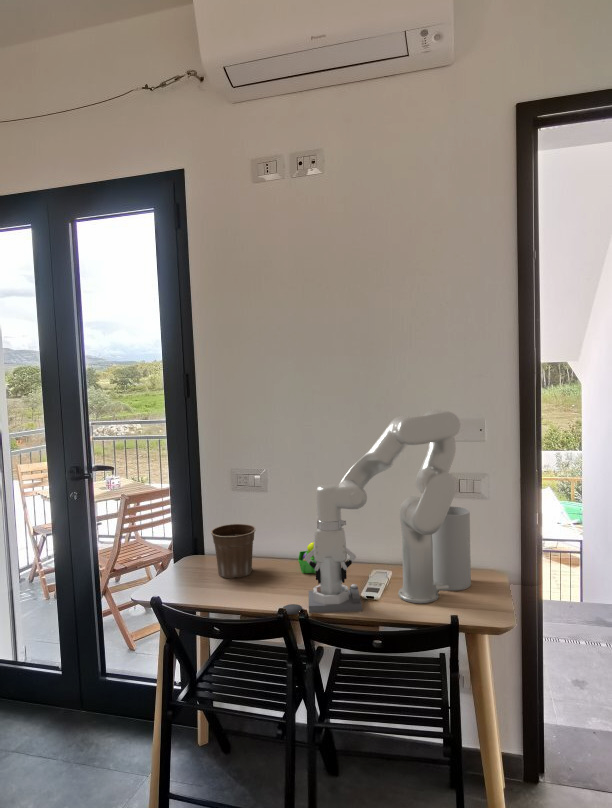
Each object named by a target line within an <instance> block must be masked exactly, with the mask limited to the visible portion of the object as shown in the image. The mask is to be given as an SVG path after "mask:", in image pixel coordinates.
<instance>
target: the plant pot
mask: <svg viewBox="0 0 612 808" xmlns="http://www.w3.org/2000/svg"><path fill="white" fill-rule="evenodd" d="M255 532H256V527H255V525H250V524H248V523H247V524H245V523H233V524H232V523H230V524H223V525H220V526H217V527H214V528H212V530H211V531H210V534H211V536H212V539H213V544H214V549H215V555H216V565H217V573H218V575H219V577H222V578H223V579H224V578H225V579H235V578H243V577H247V576H249V575H250V574H251V573H252V571H253V550H254V546H253V545H254V541H255V540H254V539H255Z"/></svg>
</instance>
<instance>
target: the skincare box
mask: <svg viewBox="0 0 612 808" xmlns="http://www.w3.org/2000/svg"><path fill="white" fill-rule="evenodd" d="M319 568H320V584H321V594H324V595H336V594H338V593H340V592H341V591H342V585H343V582H342V571H341V568H342V565H341V563H340V562H334V560H333V558H332V557H331V558H324V559H323V562H322V563H321V565H320V567H319ZM320 584H319V585H320Z"/></svg>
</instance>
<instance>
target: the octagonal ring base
mask: <svg viewBox="0 0 612 808" xmlns="http://www.w3.org/2000/svg"><path fill="white" fill-rule="evenodd" d="M312 589H313V590H308V613H337V612H338V613H340V612H363V604H362V599H361V596H360V592H359V587H358V585H357V584H355V583H353V584H351V585H349V587H348V586H347V585H345V584H342V591H341V592H340V593H338V594H336V595H324V594H321V584H318V585H316V586H314V587H312Z"/></svg>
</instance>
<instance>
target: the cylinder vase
mask: <svg viewBox="0 0 612 808" xmlns="http://www.w3.org/2000/svg"><path fill="white" fill-rule="evenodd" d="M470 513H471V511H470V509H468V508H466V507H461V506H455V505H454V506H452V505H450V508H449V510H448V513H447V515H446V517H445V519H444V522H443V524H442V526H441V527H440V529H439V530H438V531H437V532H436V533H434V534H432V541H433V581H434V582H435V583H443V585H448V586H449V591H464V590H467V589H469V588H470V586H471V585H472V575H471V574H472V571H471V569H472V568H471V566H472V565H471V564H472V563H471V562H472V561H471V520H470V519H471V517H470V516H471V514H470Z"/></svg>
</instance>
